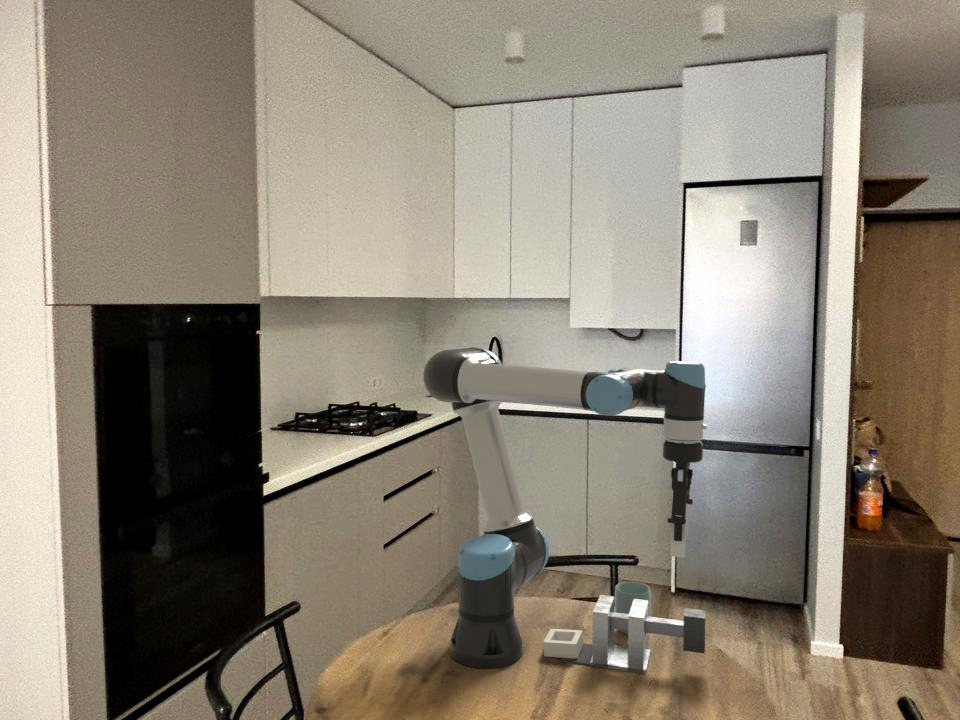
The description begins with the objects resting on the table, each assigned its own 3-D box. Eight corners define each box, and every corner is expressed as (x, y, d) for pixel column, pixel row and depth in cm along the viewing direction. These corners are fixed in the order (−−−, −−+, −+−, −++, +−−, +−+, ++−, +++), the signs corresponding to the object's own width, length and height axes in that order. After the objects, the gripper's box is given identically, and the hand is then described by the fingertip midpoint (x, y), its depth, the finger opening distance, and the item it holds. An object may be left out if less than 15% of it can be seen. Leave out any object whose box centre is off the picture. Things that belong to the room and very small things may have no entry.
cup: (650, 640, 158) (651, 595, 158) (614, 637, 160) (614, 592, 159) (649, 625, 166) (650, 582, 165) (615, 623, 168) (615, 580, 167)
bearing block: (590, 665, 147) (590, 611, 146) (597, 646, 156) (597, 594, 155) (645, 674, 143) (646, 618, 143) (650, 653, 152) (650, 600, 152)
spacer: (577, 658, 149) (544, 656, 151) (583, 644, 155) (551, 642, 158) (576, 644, 149) (543, 642, 151) (582, 630, 155) (550, 628, 158)
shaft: (596, 639, 149) (597, 605, 148) (599, 631, 153) (600, 598, 152) (704, 653, 142) (705, 618, 142) (705, 644, 146) (705, 610, 146)
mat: (560, 661, 149) (560, 659, 149) (569, 642, 157) (569, 641, 157) (590, 665, 147) (590, 664, 147) (597, 646, 156) (597, 645, 156)
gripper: (701, 452, 131) (697, 568, 132) (704, 431, 154) (701, 530, 156) (658, 449, 133) (654, 563, 135) (668, 429, 157) (664, 526, 158)
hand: (679, 545), depth 145 cm, fingers open, 13 cm apart
